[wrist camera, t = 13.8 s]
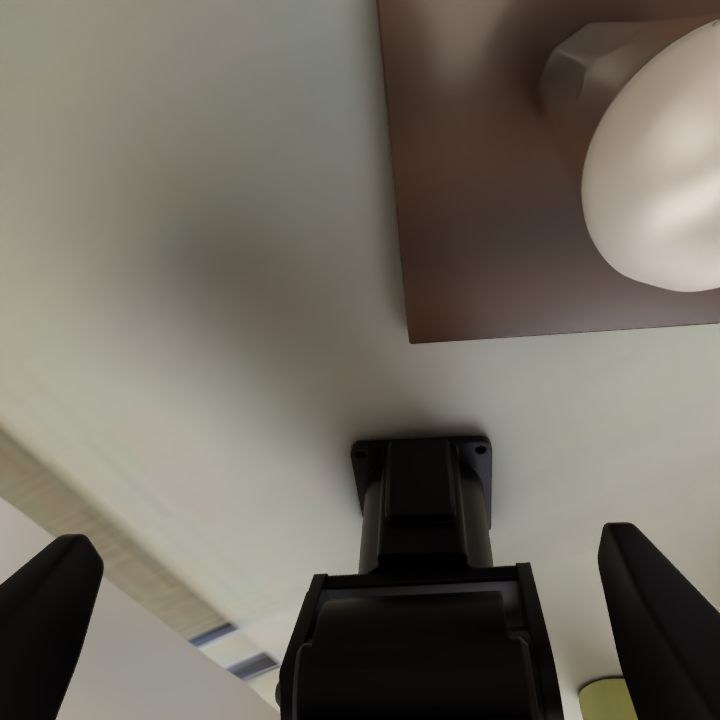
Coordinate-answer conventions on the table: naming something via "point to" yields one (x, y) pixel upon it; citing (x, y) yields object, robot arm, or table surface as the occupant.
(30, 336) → the table surface
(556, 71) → the milkshake
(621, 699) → the tube
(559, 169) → the walnut board
